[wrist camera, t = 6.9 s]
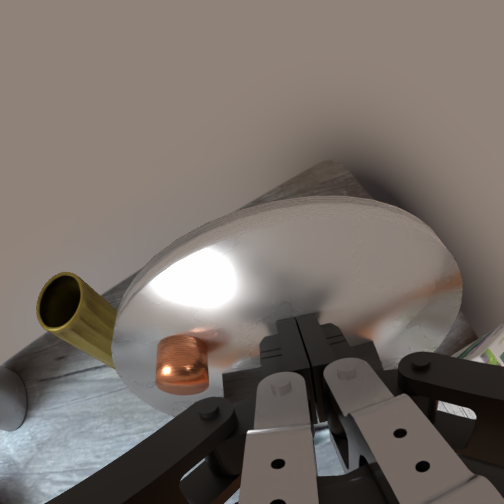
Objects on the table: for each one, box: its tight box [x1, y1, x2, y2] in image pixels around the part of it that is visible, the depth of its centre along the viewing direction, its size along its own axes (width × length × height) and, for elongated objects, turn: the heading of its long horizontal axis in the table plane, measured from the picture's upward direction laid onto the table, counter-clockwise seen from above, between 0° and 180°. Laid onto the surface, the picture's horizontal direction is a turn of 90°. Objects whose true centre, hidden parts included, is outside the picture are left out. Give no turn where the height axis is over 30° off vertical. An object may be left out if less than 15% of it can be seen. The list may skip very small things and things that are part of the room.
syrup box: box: [437, 323, 504, 419], centre depth 21 cm, size 6×6×14 cm
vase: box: [36, 272, 118, 370], centre depth 28 cm, size 6×6×14 cm
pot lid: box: [111, 196, 463, 419], centre depth 14 cm, size 17×17×3 cm
